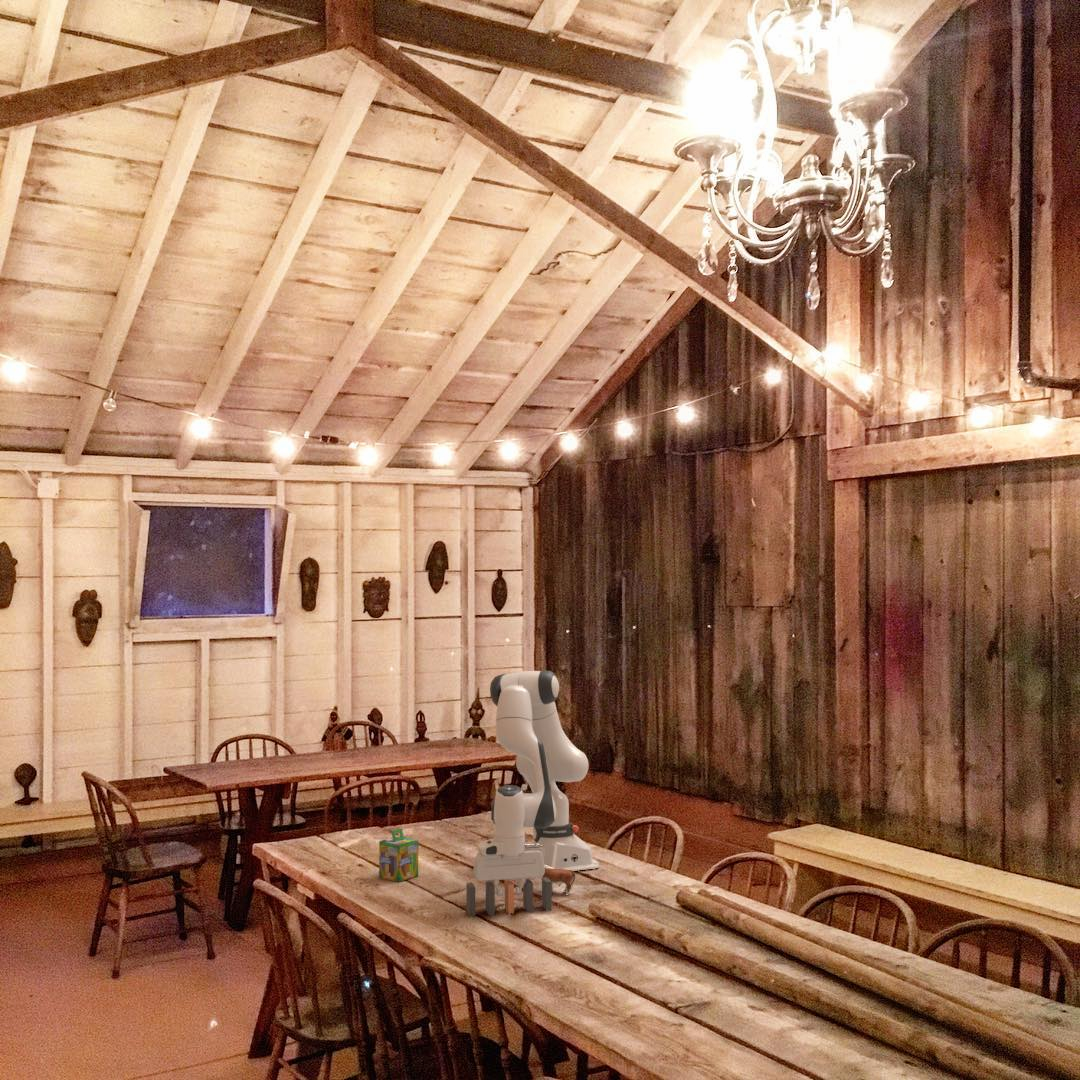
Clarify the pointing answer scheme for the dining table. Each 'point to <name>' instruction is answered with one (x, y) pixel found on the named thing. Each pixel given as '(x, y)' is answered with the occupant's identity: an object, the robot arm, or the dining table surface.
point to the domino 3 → (509, 896)
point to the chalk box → (398, 858)
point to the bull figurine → (559, 877)
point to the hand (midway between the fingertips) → (509, 894)
